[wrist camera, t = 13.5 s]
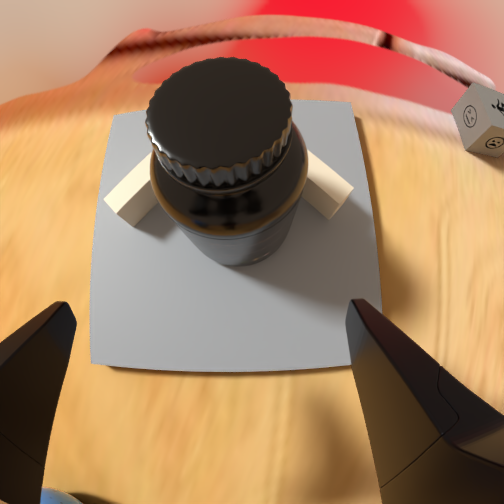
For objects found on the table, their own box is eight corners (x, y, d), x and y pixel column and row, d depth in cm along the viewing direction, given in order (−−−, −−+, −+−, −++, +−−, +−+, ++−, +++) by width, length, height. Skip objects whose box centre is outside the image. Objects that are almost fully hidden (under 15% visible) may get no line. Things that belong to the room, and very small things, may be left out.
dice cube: (497, 157, 23) (524, 135, 18) (464, 150, 23) (491, 125, 19) (483, 119, 24) (505, 94, 20) (450, 110, 25) (472, 82, 20)
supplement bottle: (177, 191, 21) (108, 74, 9) (268, 160, 21) (276, 23, 10) (206, 285, 20) (135, 235, 8) (306, 249, 20) (365, 158, 8)
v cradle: (375, 358, 20) (402, 366, 15) (100, 361, 20) (68, 368, 16) (346, 112, 24) (359, 79, 20) (119, 124, 24) (100, 94, 20)
